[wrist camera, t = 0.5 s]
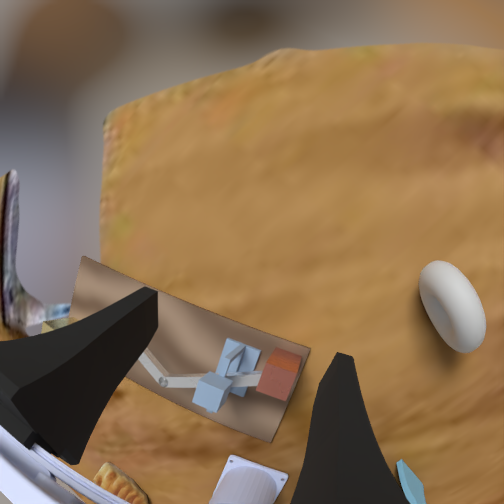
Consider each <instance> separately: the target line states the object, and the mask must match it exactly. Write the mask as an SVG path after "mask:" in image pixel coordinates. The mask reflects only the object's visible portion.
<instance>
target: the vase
mask: <svg viewBox="0 0 504 504" xmlns="http://www.w3.org/2000/svg"><path fill="white" fill-rule="evenodd" d="M397 468H398V473H399V478H400V482H401V485H402V488H403V491H404V494H405V496H406V498H407V500H408V501H409V502H410V504H426V501H425V497H424V487H423V484H422V483H421V481H420V480H419V479H418V478H417V477H416V475H415V474H414V473H413V472H412V471H411V470H410V468H409V467H408V466H407V465H406V464H405V463H404V461H403V460H402V459H401V460H400V461H398V462H397Z"/></svg>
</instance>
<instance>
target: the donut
mask: <svg viewBox="0 0 504 504" xmlns="http://www.w3.org/2000/svg"><path fill="white" fill-rule="evenodd" d="M419 290H420V296H421V299H422V302H423V304H424V307H425V309H426V312H427V314H428V316H429V318H430V320H431V322H432V323H433V325H434V327H435V328H436V330H437V331H438V333H439V334H440V336H441V337H442V339H443V340H444V341H445V342H446V343H447V344H448V345H449V346H450V347H451V348H453V349H454V350H455V351H458V352H462V353H470V352H472V351H474V350H475V349H476V348H478V347H479V346H480V345H481V343H482V342H483V340H484V336H485V332H486V320H485V314H484V310H483V307H482V304H481V301H480V299H479V297H478V295H477V293H476V291H475V289H474V288H473V286H472V285H471V283H470V282H469V280H468V279H467V278H466V277H465V276H464V275H463V274H462V273H461V272H460V271H459V270H458V269H457V268H456V267H454V266H453V265H452V264H450V263H447V262H444V261H433V262H431V263H429V264H428V265H426V266H425V267H424V268H423V269H422V271H421V273H420V278H419Z"/></svg>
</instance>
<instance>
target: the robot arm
mask: <svg viewBox="0 0 504 504" xmlns="http://www.w3.org/2000/svg"><path fill="white" fill-rule="evenodd" d="M157 329H158V291H156V290H153V289H151V288H148V287H146V286H144V287H142V288H141V289H139V290H137V291H135V292H133V293H131V294H130V295H128V296H126V297H124V298H122V299H121V300H119V301H117V302H115V303H113V304H111V305H109V306H108V307H106V308H104V309H102V310H100V311H98V312H96V313H94V314H92V315H90V316H88V317H86V318H83V319H81V320H79V321H77V322H74V323H72V324H70V325H67V326H64V327H61V328H59V329H56V330H53V331H49V332H46V333H42V334H39V335H35V336H31V337H26V338H21V339H16V340H9V341H0V491H1V492H2V493H3V494H4V495H5V496H6V497H7V498H8V499H9V500H10V501H11V502H12V503H13V504H85V503H84V502H82V501H81V500H79V499H78V498H77V497H75V496H74V495H73V494H72V493H70V492H68V491H67V490H66V489H64V488H63V487H62V486H60V485H59V484H57V483H56V478H55V477H57V478H58V479H60V480H61V481H63V482H64V483H65V484H67V485H68V486H70V487H71V488H73V489H74V490H76V491H77V492H79V493H80V494H82V495H84V496H85V497H87V498H88V499H90V500H92V501H93V502H95V503H97V504H130V503H128V502H127V501H125V500H123V499H121V498H119V497H117V496H115V495H113V494H112V493H110V492H108V491H106V490H105V489H103V488H101V487H99V486H98V485H96V484H94V483H93V482H91V481H89V480H88V479H86V478H85V477H83V476H81V475H80V474H78V473H77V472H75V471H74V470H72V469H71V468H69V467H68V466H66V465H65V464H63V463H62V462H61V461H59V460H58V459H56V458H55V457H54V456H52V455H51V453H52V454H53V455H55V456H56V457H60V458H61V459H63V460H64V461H66V462H67V463H69V464H70V465H76V464H79V462H80V459H81V457H82V454H83V452H84V450H85V447H86V445H87V442H88V440H89V438H90V436H91V434H92V432H93V430H94V427H95V425H96V423H97V421H98V419H99V418H100V416H101V414H102V412H103V410H104V408H105V406H106V405H107V403H108V401H109V399H110V398H111V396H112V394H113V392H114V391H115V389H116V388H117V386H118V385H119V384H120V382H121V381H122V380H123V378H124V377H125V376H126V374H127V373H128V372H129V370H130V369H131V368H132V366H133V365H134V364H135V363H136V361H137V360H138V359H139V357H140V356H141V355H142V353H143V352H144V351H145V349H146V348H147V346H148V345H149V343H150V341H151V340H152V338H153V336H154V334H155V332H156V331H157ZM230 460H232V461H233V462H232V461H230ZM282 478H283V479H284V480H282ZM287 479H288V474H286V473H283V472H280V471H277V470H274V469H271V468H268V467H265V466H262V465H260V464H257V463H254V462H251V461H249V460H246V459H243V458H241V457H238V456H236V455H230V456H229V458H228V461H227V463H226V466H225V468H224V470H223V473H222V475H221V477H220V480H219V482H218V484H217V486H216V489H215V491H214V493H213V495H212V498H211V500H210V501H209V503H208V504H273V503H274V501H275V500H276V498H277V496H278V495H279V493H280V491H281V490H282V488H283V486H284V484H285V483H286V481H287ZM290 504H410V502H409V501H408V500H407V498H406V497H405V495H404V494H403V492H402V490H401V489H400V487H399V486H398V484H397V482H396V480H395V478H394V477H393V475H392V473H391V471H390V469H389V467H388V465H387V463H386V461H385V459H384V457H383V455H382V453H381V450H380V448H379V446H378V443H377V441H376V438H375V436H374V433H373V430H372V427H371V424H370V421H369V418H368V415H367V412H366V408H365V405H364V401H363V398H362V394H361V390H360V386H359V382H358V378H357V373H356V368H355V363H354V359H353V357H352V356H349V355H346V354H342V353H339V352H337V353H336V355H335V357H334V359H333V360H332V362H331V364H330V366H329V368H328V369H327V371H326V373H325V374H324V376H323V378H322V380H321V381H320V383H319V387H318V390H317V394H316V398H315V402H314V405H313V411H312V418H311V424H310V430H309V437H308V443H307V449H306V454H305V459H304V463H303V467H302V470H301V473H300V477H299V480H298V483H297V486H296V489H295V492H294V495H293V497H292V500H291V503H290Z"/></svg>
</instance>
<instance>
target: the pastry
mask: <svg viewBox="0 0 504 504" xmlns="http://www.w3.org/2000/svg"><path fill="white" fill-rule="evenodd" d="M94 484H96V485H98V486H99V487H101V488H103V489H105V490H106V491H108V492H110V493H112V494H113V495H115V496H117V497H119V498H121V499H123V500H125V501H127V502H128V503H130V504H148V499H147V495H146V494H145V492H144V491H142V490H141V489H140V488H139V486H138V485H137V484H136V483H135V481H134V480H133V479H132V478H130V477H129V476H128V475H126V474H125V473H124V472H123V471H122V470H120V469H119V468H118V467H117V466H115V465H114V464H112V463H109V462H106V463H105V464H104V465H103V466H102V467H101V468H100V470H99V472H98V473H97V474H96V476H95V478H94Z"/></svg>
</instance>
